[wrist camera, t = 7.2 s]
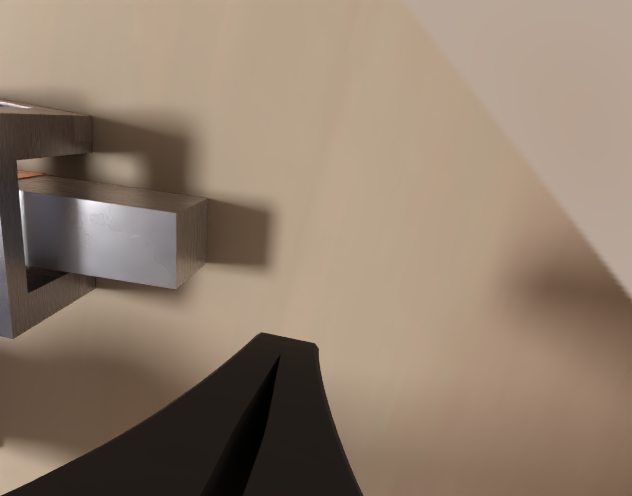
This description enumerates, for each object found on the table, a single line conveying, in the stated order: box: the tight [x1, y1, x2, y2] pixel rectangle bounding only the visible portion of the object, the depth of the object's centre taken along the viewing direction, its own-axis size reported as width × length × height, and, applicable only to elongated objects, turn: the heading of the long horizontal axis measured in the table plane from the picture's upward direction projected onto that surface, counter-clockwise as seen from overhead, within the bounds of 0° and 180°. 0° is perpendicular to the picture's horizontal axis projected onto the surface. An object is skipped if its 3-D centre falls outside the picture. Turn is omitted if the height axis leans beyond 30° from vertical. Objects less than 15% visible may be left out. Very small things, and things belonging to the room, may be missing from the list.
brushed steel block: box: [17, 170, 208, 289], centre depth 16 cm, size 12×3×3 cm, turn 83°
